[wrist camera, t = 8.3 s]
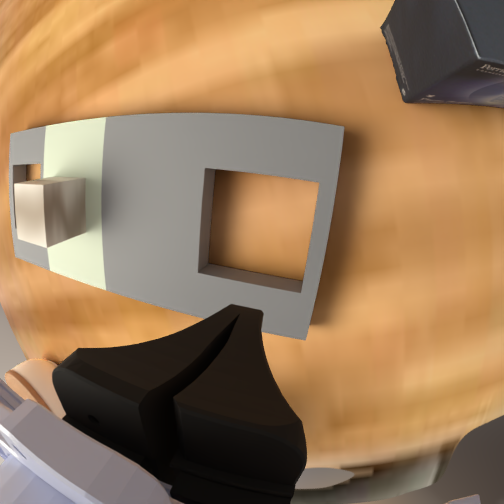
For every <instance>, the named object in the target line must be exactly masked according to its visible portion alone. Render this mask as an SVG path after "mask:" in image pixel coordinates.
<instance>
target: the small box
mask: <svg viewBox="0 0 504 504" xmlns="http://www.w3.org/2000/svg"><path fill="white" fill-rule="evenodd" d="M380 28H381V29H382V34H383V36H384V37H385V39H386V44H387V46H388V49H389V52H390V56H391V58H392V61H393V66H394V69H395V73H396V80H397V83H398V86H399V89H400V92H401V95H402V99H403V101H404V102H405V103H446V104H465V105H478V106H490V107H498V108H504V0H395V1H394V4H393V6H392V8H391V10H390V12H389V14H388V16H387V18H386V20H385V22H384V23H383V24H382V26H381V27H380Z"/></svg>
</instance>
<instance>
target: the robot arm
mask: <svg viewBox="0 0 504 504" xmlns="http://www.w3.org/2000/svg"><path fill="white" fill-rule="evenodd" d="M263 316H264V313H263V311H262V310H259V309H254V308H249V307H244V306H240V305H235V304H230V305H228V306H226V307H225V308H223V309H221V310H220V311H218V312H216V313H215V314H213V315H211V316H209V317H208V318H206V319H204V320H202V321H200V322H198V323H196V324H194V325H192V326H190V327H188V328H186V329H184V330H181V331H179V332H177V333H174V334H171V335H168V336H165V337H162V338H159V339H156V340H151V341H147V342H143V343H139V344H134V345H127V346H120V347H110V348H78V349H77V350H76V351H74V352H73V353H72V354H71V355H70V356H69V357H67V358H66V359H65V360H64V361H63V362H62V363H60V364H59V365H58V366H57V367H56V368H55V369H54V370H53V372H52V382H53V386H54V389H55V391H56V393H57V396H58V398H59V400H60V402H61V405H62V407H63V409H64V411H65V413H66V415H65V416H64V417H63V418H62V419H61V418H59V417H58V416H56V415H55V414H54V413H52V412H51V411H49V410H48V409H47V408H45V407H44V406H42V405H41V404H39V403H37V402H35V401H34V400H32V399H26V400H24V399H23V398H22V397H20V396H19V395H18V394H17V393H16V392H15V391H13V390H12V389H11V388H10V387H9V386H8V385H7V384H6V383H5V382H4V381H3V380H1V379H0V456H1V457H2V458H3V459H4V460H5V461H4V462H3V463H2V464H1V465H0V504H290V501H291V498H292V497H293V495H294V490H295V484H296V482H297V481H298V479H299V477H300V476H301V474H302V472H303V471H304V469H305V466H306V462H307V447H306V439H305V434H304V429H303V425H302V421H301V420H300V419H299V418H298V416H297V415H296V414H295V413H294V411H293V410H292V409H291V407H290V406H289V404H288V403H287V401H286V400H285V398H284V397H283V395H282V393H281V391H280V389H279V387H278V386H277V384H276V382H275V380H274V378H273V375H272V373H271V370H270V368H269V365H268V362H267V359H266V355H265V351H264V346H263V341H262V332H261V329H262V322H263ZM444 504H481V503H480V499H479V495H477V494H476V495H472V496H468V497H464V498H460V499H455V500H452V501H449V502H447V503H444Z"/></svg>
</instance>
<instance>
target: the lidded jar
mask: <svg viewBox="0 0 504 504" xmlns="http://www.w3.org/2000/svg"><path fill="white" fill-rule="evenodd" d="M57 366H58V365H57V364H56V363H54V362H53V361H50V360H47V361H46V360H43V359H29V360H27V361H24V362H22V363H20V364H18V365H17V366H15V367H14V368H13V369H12V370H9V371H8V372H6V374H5V379H6V382H7V385H8V386H9V387H10V388H11V389H12V390H13V391H15V392H16V393H17V394H18V395H19V396H20V397H22V398H23V399H24V400H26V399H32V400H34V401H35V402H37V403H39V404H41V405H42V406H44V407H45V408H47V409H48V410H49V411H51V412H52V413H54V414H55V415H56V416H58V417H59V418H61V419H62V418H63V417H64V416H65V415H66V413H65V411H64V409H63V407H62V405H61V402H60V400H59V398H58V396H57V393H56V391H55V389H54V386H53V382H52V372H53V370H54V369H55V368H56V367H57Z"/></svg>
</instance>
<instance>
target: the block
mask: <svg viewBox="0 0 504 504" xmlns="http://www.w3.org/2000/svg"><path fill="white" fill-rule="evenodd" d="M85 180H86V178H79V177H48V178H42V179H36V180H31V181H25V182H20V183H15V184H14V194H15V213H16V225H17V235H18V239H20V240H23V241H26V242H29V243H32V244H36V245H39V246H42V247H45V248H48V247H51V246H53V245H56V244H58V243H61V242H63V241H66V240H68V239H71V238H73V237H76V236H79V235H81V234H84V233H86V209H85Z"/></svg>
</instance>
